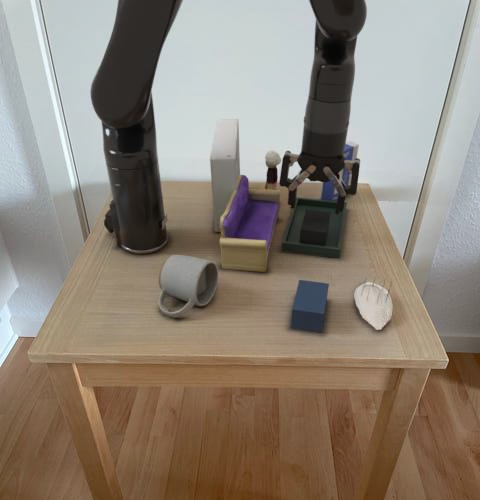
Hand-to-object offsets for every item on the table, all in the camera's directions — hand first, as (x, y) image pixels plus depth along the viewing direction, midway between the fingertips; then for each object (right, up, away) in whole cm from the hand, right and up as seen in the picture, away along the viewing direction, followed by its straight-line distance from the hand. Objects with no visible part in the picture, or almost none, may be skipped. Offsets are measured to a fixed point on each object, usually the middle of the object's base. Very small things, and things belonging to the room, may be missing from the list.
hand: (314, 209), depth 95 cm
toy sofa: (-12, -6, +4) cm, 14 cm away
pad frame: (+1, -2, +8) cm, 8 cm away
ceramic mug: (-24, -18, -10) cm, 31 cm away
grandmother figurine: (-8, +4, +15) cm, 18 cm away
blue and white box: (+8, +7, +19) cm, 21 cm away
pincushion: (+8, -19, -11) cm, 24 cm away
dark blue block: (-3, -20, -13) cm, 24 cm away
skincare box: (-17, +4, +15) cm, 23 cm away
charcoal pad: (+1, -5, +4) cm, 7 cm away
